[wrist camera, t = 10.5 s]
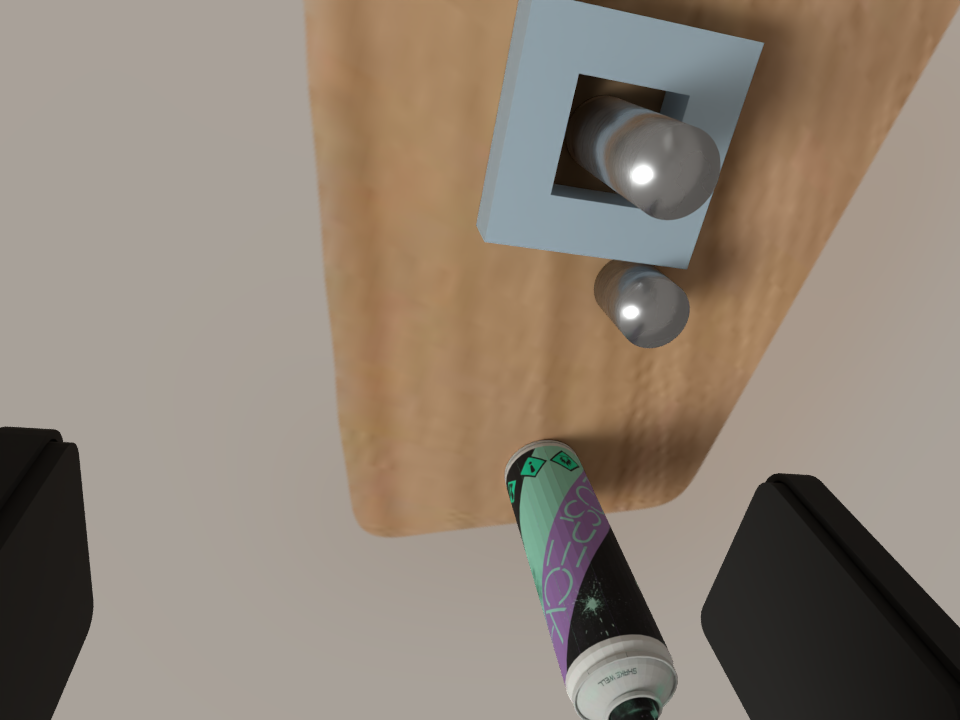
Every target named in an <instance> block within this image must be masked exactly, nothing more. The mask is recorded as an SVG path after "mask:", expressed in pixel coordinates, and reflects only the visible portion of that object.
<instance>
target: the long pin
mask: <svg viewBox="0 0 960 720" xmlns="http://www.w3.org/2000/svg"><path fill="white" fill-rule="evenodd" d="M566 143H567V147H568V150H569V153H570V155H571V156H572V158H573V159H574V160H575V161H576V162H577V163H578V164H579V165H580V166H582V167H583V168H584V169H586V170H587V171H589V172H590V173H591V174H593V175H594V176H595V177H597V178H598V179H599V180H601V181H602V182H604V183H605V184H606V185H608V186H609V187H610V188H612V189H613V190H615V191H616V192H617V193H619V194H620V195H621V196H623V197H624V198H626V199H627V200H628V201H630V202H631V203H632V204H634V205H635V206H637V207H638V208H639V209H641V210H642V211H643V212H645V213H646V214H648V215H649V216H651V217H654V218H656V219H660V220H675V219H680V218H683V217H685V216H688V215H690V214H691V213H693V212H695V211H696V210H697V209H699V208H700V207H701V206H702V205H703V204H704V203H705V202H706V201H707V200H708V198H709V197H710V196H711V194H712V193H713V191H714V189H715V187H716V184H717V182H718V178H719V175H720V166H721V162H720V154H719V150H718V148H717V145H716V144H715V142H714V140H713V139H712V138H711V136H710V135H708V134H707V133H706V132H705V131H703V130H702V129H700V128H697V127H695V126H692V125H689V124H687V123H684V122H681V121H679V120H676V119H673V118H670V117H668V116H665V115H662V114H660V113H657V112H654V111H652V110H649V109H646V108H643V107H641V106H638V105H635V104H633V103H630V102H627V101H625V100H622V99H619V98H616V97H613V96H608V95H601V96H596V97H593V98H591V99H588V100H587V101H585V102H584V103H582V104H581V105H580V106H579V107H578V108H577V109H576V110H575V112H574V113H573V115H572V117H571V118H570V121H569V123H568V126H567V131H566Z"/></svg>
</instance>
